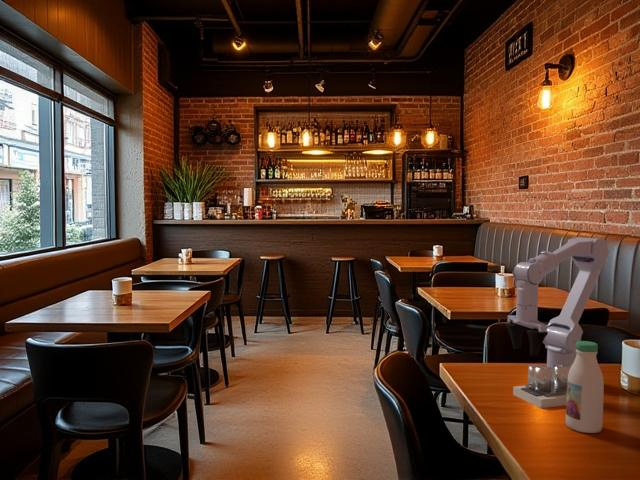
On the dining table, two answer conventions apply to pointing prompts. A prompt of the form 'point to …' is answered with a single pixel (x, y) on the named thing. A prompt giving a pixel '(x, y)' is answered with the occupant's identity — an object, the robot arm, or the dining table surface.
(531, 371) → the cylinder
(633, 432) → the dining table surface
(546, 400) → the scale
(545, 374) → the cylinder
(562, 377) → the cylinder
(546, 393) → the grey metal plate
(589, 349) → the milk bottle
